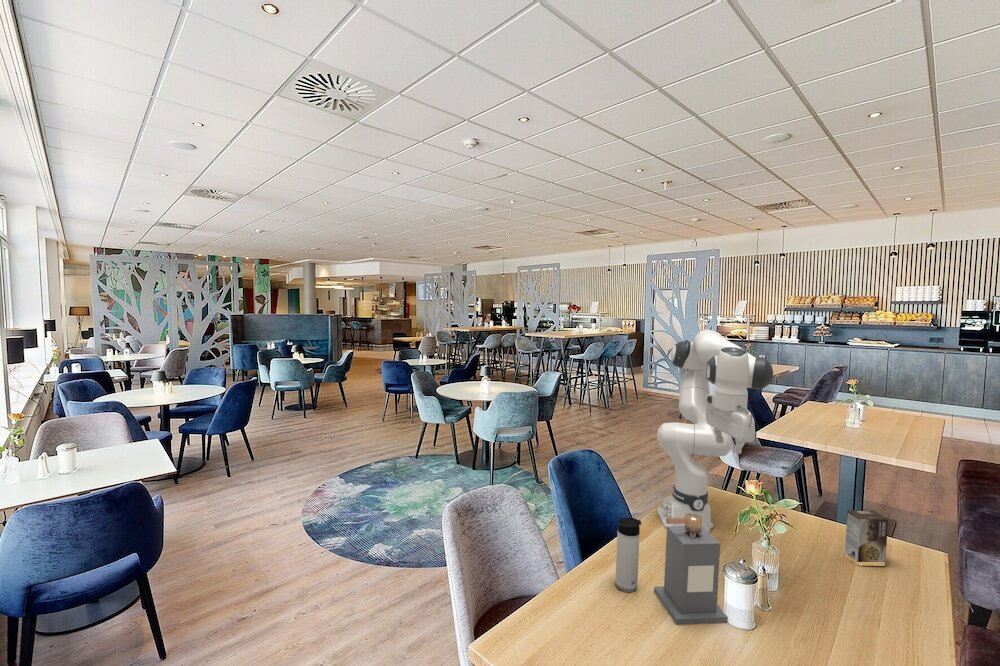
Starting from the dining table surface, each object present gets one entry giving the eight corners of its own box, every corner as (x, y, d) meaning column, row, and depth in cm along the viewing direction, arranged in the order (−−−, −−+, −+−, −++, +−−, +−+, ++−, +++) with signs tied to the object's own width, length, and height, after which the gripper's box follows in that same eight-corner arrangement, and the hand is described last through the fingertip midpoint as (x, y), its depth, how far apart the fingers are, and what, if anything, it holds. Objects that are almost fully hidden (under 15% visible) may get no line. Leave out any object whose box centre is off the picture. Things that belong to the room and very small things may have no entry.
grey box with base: (653, 591, 136) (657, 522, 135) (700, 590, 138) (703, 521, 136) (676, 624, 123) (680, 548, 121) (727, 622, 124) (731, 547, 122)
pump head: (660, 581, 131) (664, 513, 130) (693, 580, 132) (697, 513, 131) (667, 591, 127) (671, 521, 126) (701, 590, 128) (705, 520, 126)
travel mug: (639, 594, 135) (642, 526, 134) (615, 590, 136) (618, 523, 135) (637, 581, 141) (640, 516, 140) (614, 578, 143) (617, 514, 141)
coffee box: (870, 556, 159) (874, 510, 158) (885, 567, 152) (889, 519, 151) (843, 555, 159) (846, 509, 158) (856, 566, 152) (860, 518, 151)
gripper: (762, 411, 130) (759, 459, 132) (721, 395, 151) (719, 437, 152) (741, 411, 130) (738, 460, 131) (703, 395, 150) (700, 437, 151)
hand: (727, 447), depth 142 cm, fingers open, 8 cm apart
